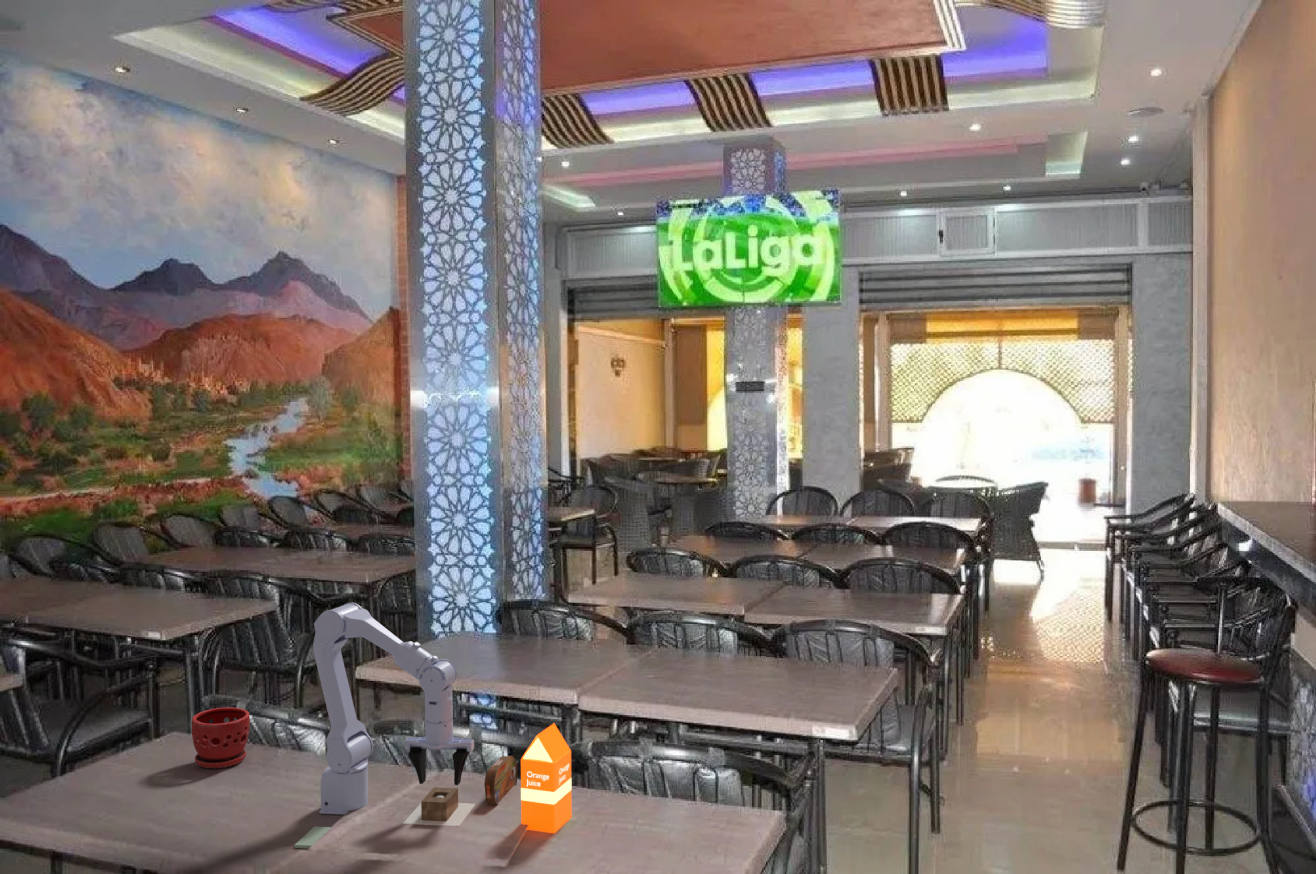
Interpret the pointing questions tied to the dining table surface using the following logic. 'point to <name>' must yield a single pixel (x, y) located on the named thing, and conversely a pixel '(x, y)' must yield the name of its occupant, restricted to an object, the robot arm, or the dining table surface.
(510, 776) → the tin
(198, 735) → the plant pot
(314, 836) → the mat
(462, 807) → the stand
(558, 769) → the orange juice
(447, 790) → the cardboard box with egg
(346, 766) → the robot arm
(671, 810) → the dining table surface
